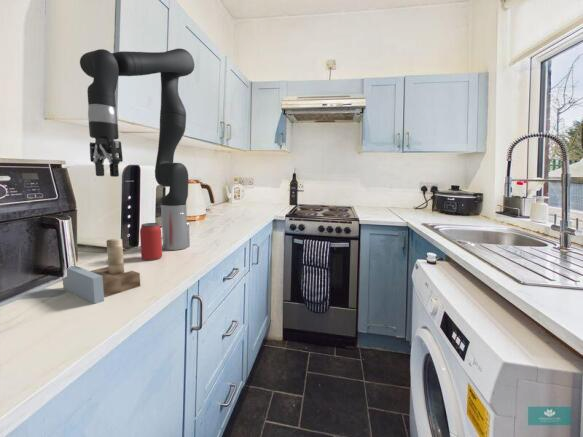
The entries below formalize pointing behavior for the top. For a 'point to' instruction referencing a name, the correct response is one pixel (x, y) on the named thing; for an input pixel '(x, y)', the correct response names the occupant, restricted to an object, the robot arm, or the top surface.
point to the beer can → (151, 241)
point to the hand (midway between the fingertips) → (107, 176)
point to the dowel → (115, 256)
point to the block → (118, 281)
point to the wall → (84, 284)
